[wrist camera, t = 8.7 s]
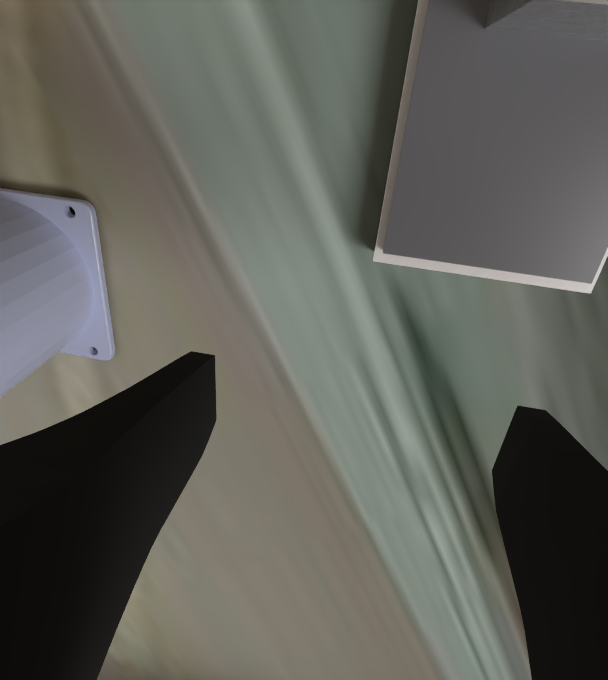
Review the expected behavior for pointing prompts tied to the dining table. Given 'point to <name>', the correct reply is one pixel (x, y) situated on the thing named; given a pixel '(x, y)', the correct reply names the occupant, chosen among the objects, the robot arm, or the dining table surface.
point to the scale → (498, 153)
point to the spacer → (551, 17)
